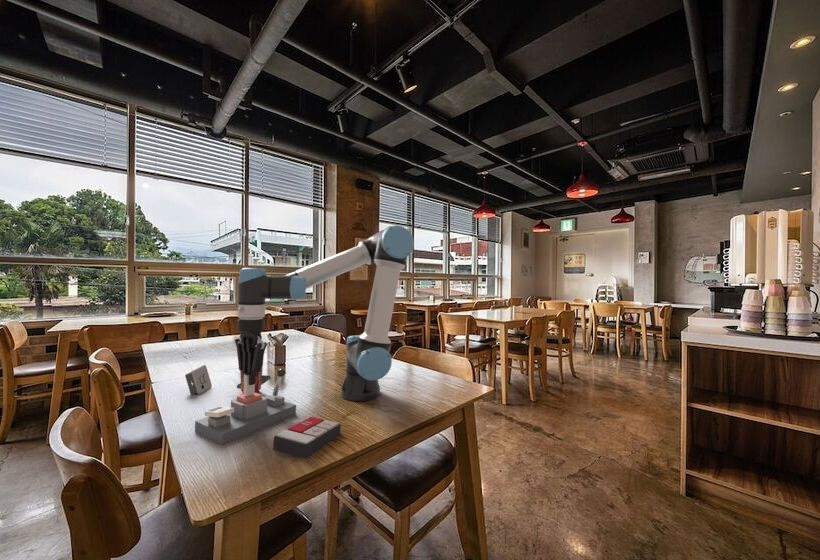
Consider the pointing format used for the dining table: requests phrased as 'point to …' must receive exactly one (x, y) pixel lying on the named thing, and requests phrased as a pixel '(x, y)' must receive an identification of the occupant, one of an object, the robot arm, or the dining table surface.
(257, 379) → the smoothie
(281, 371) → the toggle lever
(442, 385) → the dining table surface
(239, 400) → the push button
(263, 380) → the phone
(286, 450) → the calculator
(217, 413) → the rocker switch
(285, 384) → the dining table surface
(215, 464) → the dining table surface
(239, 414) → the switch panel
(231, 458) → the dining table surface
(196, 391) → the electrical switch
